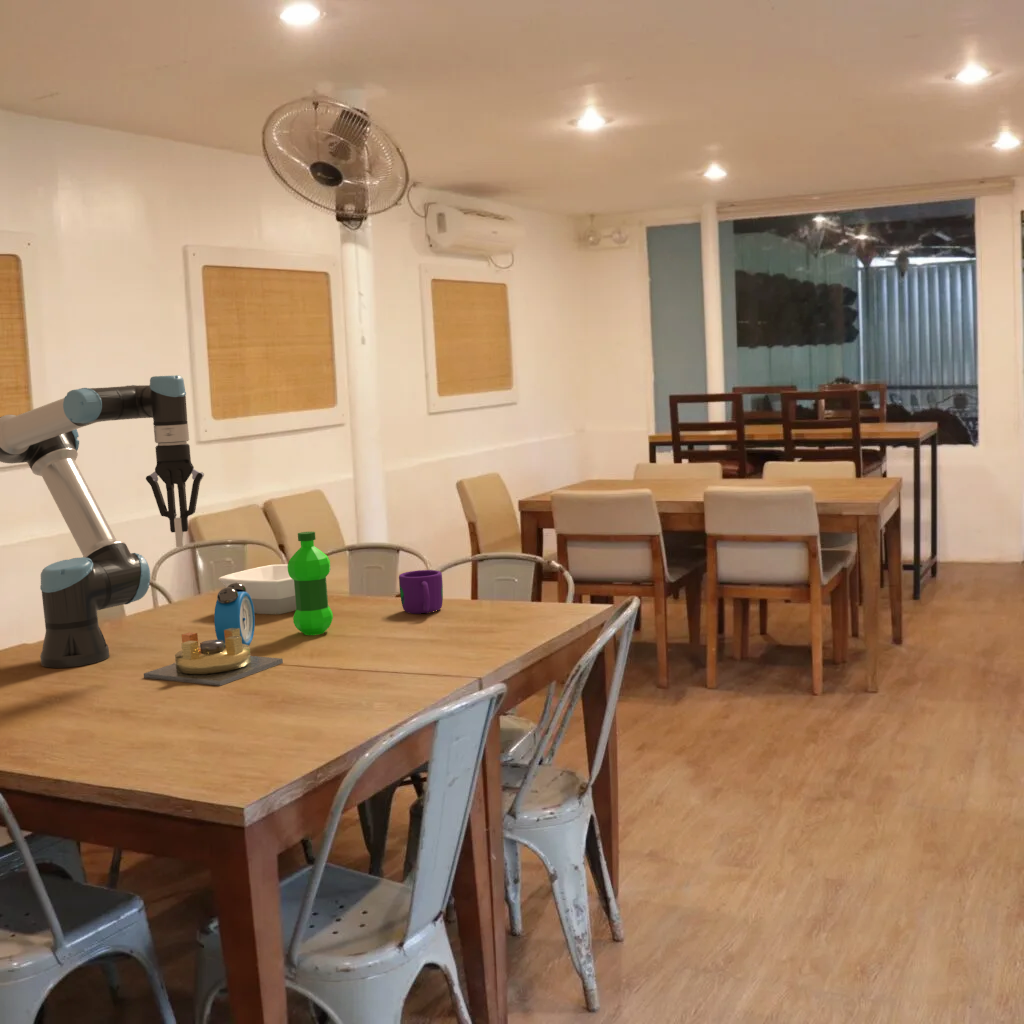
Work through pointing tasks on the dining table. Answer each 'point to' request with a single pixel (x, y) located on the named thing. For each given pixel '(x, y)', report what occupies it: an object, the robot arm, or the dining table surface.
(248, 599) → the alarm clock
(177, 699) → the dining table surface
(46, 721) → the dining table surface
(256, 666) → the spindle plate
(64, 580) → the robot arm
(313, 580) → the plastic bottle
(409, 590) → the mug
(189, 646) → the notched brass disc
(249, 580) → the bowl
